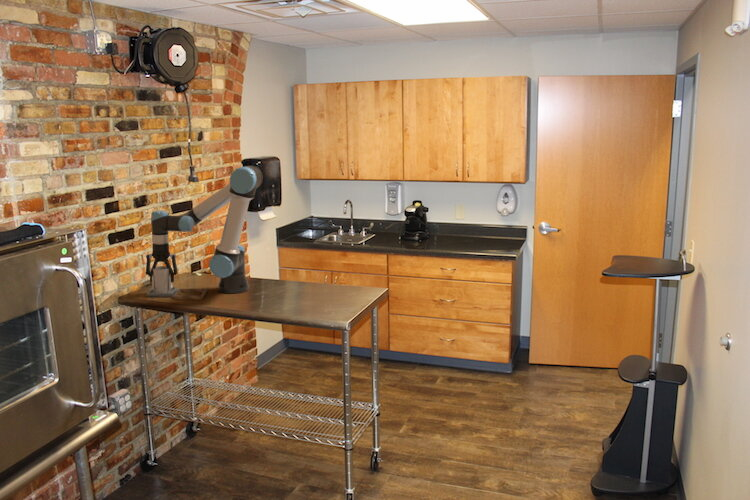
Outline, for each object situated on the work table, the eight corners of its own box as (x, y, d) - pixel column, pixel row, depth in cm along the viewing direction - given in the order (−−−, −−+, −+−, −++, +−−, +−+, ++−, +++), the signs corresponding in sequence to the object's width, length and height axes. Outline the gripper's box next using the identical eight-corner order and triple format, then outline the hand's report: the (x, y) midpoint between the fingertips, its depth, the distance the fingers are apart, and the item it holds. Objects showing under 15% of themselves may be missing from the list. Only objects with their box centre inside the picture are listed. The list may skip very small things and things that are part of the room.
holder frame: (207, 291, 306) (207, 288, 305) (202, 299, 292) (202, 296, 292) (179, 291, 304) (179, 288, 304) (173, 299, 291) (172, 296, 291)
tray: (178, 290, 306) (177, 287, 306) (172, 297, 294) (172, 293, 294) (153, 290, 305) (153, 286, 305) (146, 297, 293) (146, 293, 293)
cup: (165, 294, 295) (164, 270, 292) (150, 293, 296) (149, 269, 294) (174, 290, 303) (173, 266, 300) (159, 289, 304) (158, 265, 302)
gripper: (183, 241, 299) (185, 286, 304) (141, 240, 297) (143, 286, 302) (180, 244, 292) (181, 290, 296) (136, 243, 290) (138, 290, 295)
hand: (162, 288), depth 299 cm, fingers closed on cup, 7 cm apart
